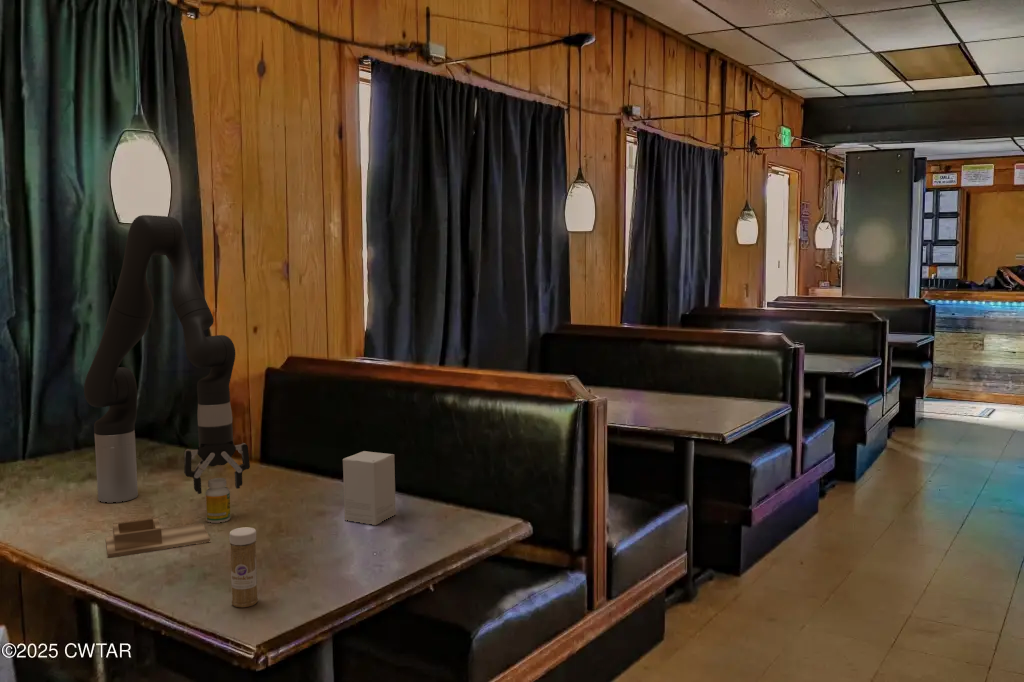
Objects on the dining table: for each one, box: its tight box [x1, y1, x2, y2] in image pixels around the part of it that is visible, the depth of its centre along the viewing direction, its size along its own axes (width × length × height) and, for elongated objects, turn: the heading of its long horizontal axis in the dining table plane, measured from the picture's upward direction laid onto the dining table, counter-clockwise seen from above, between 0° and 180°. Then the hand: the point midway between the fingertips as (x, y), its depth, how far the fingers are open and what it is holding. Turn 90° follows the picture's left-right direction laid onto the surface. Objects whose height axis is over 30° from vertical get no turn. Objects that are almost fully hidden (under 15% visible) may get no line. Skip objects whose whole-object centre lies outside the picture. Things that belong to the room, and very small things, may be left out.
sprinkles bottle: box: [228, 526, 259, 608], centre depth 152 cm, size 5×5×14 cm
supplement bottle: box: [204, 477, 231, 524], centre depth 198 cm, size 5×5×10 cm
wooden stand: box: [105, 516, 211, 559], centre depth 184 cm, size 12×20×4 cm, turn 117°
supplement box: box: [342, 450, 397, 526], centre depth 199 cm, size 9×9×15 cm
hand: (218, 490), depth 198 cm, fingers open, 8 cm apart
